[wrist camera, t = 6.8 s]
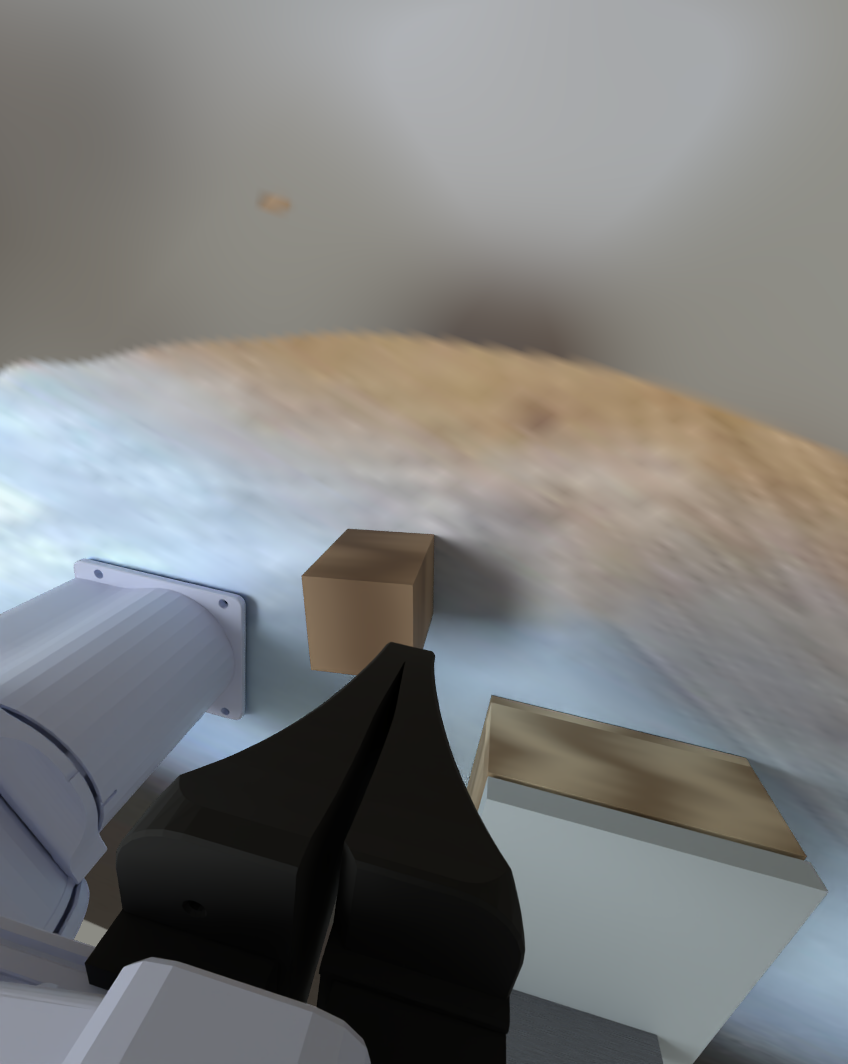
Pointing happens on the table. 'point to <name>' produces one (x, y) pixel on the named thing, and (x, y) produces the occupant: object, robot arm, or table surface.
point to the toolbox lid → (634, 928)
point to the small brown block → (368, 597)
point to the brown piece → (629, 774)
